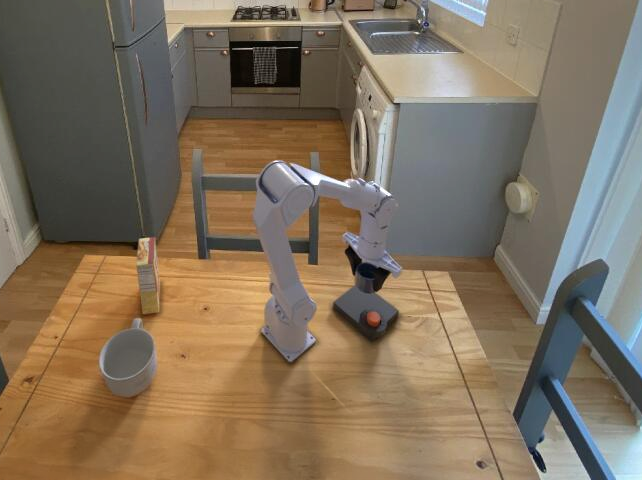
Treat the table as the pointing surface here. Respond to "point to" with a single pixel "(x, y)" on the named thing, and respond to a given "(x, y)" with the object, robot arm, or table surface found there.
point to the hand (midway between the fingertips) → (366, 281)
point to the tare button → (373, 319)
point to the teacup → (129, 361)
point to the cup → (365, 277)
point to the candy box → (148, 275)
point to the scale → (365, 311)
